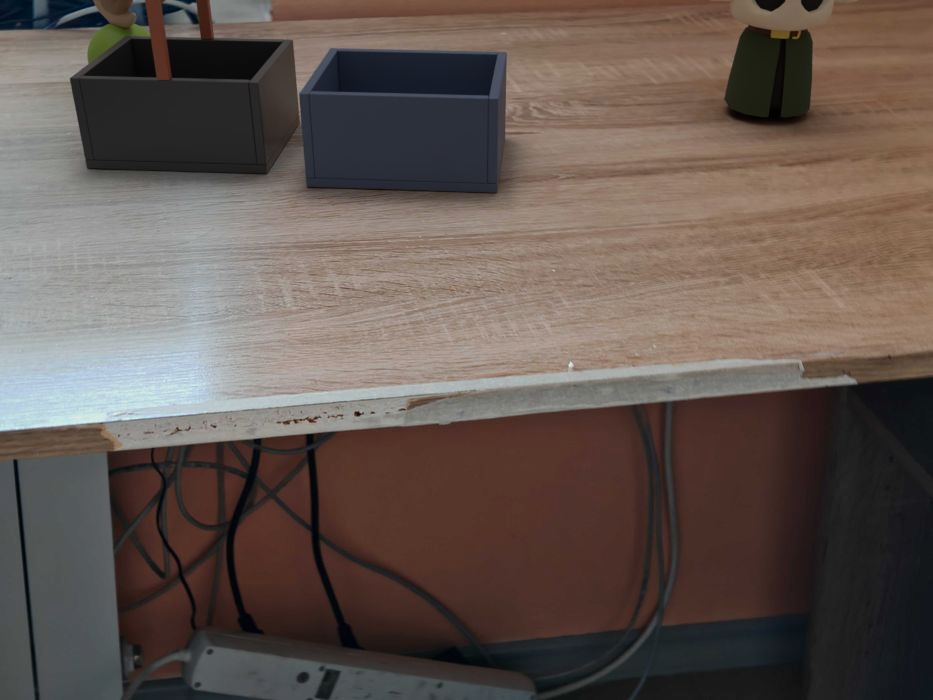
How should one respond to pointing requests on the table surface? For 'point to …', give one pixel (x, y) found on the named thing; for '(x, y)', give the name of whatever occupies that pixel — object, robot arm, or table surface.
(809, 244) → the table surface
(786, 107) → the green robed panda doll
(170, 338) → the table surface
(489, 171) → the box
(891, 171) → the table surface
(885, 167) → the table surface
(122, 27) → the figurine on green ball
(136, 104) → the box
